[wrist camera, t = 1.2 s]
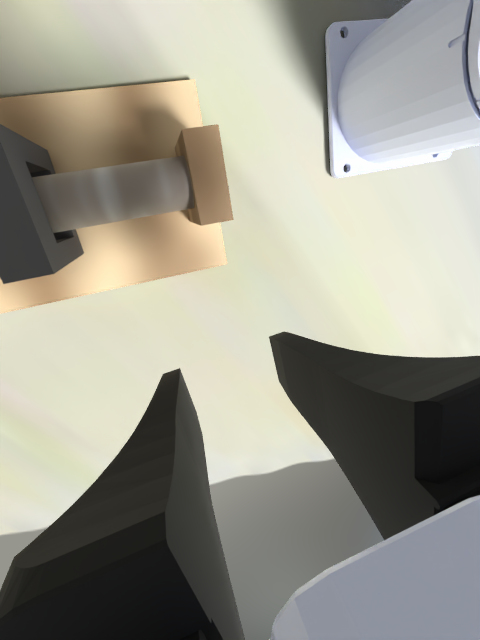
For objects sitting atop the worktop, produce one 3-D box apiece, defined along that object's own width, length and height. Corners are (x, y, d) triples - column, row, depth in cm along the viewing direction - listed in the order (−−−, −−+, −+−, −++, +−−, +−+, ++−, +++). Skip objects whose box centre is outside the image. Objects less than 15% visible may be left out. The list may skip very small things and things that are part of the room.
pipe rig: (193, 83, 17) (209, 36, 12) (225, 262, 20) (246, 278, 16) (-270, 128, 13) (-500, 85, 8) (-124, 338, 17) (-226, 387, 12)
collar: (47, 150, 15) (-9, 118, 10) (84, 253, 17) (54, 273, 12) (8, 155, 15) (-73, 125, 9) (50, 259, 17) (3, 284, 11)
